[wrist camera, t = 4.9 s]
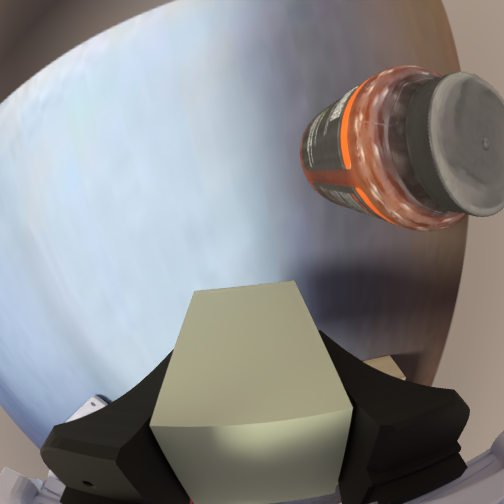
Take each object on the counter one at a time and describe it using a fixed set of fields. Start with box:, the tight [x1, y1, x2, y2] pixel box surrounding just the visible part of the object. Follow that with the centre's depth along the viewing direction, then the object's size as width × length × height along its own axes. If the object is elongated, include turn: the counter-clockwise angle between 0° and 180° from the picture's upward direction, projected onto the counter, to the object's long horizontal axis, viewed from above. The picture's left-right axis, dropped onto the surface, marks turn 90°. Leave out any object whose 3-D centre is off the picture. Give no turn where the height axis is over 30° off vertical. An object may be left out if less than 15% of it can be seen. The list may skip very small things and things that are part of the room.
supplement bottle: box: [300, 65, 504, 231], centre depth 11 cm, size 6×6×11 cm
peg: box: [149, 281, 353, 504], centre depth 10 cm, size 4×4×8 cm
